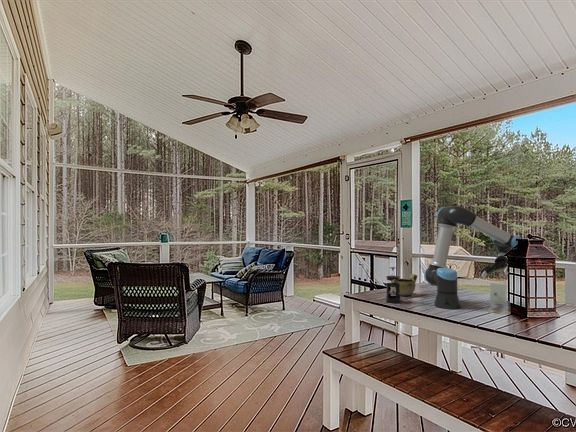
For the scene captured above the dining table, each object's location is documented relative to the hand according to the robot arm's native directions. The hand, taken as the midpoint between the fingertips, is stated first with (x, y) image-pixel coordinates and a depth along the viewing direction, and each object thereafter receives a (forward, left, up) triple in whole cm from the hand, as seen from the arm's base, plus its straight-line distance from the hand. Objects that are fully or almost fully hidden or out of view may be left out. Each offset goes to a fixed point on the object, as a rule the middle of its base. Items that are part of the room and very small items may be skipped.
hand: (493, 275), depth 221 cm
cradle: (+10, -9, -20) cm, 24 cm away
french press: (-39, -46, -20) cm, 64 cm away
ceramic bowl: (-54, -24, -20) cm, 62 cm away
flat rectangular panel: (+6, -5, -20) cm, 21 cm away
